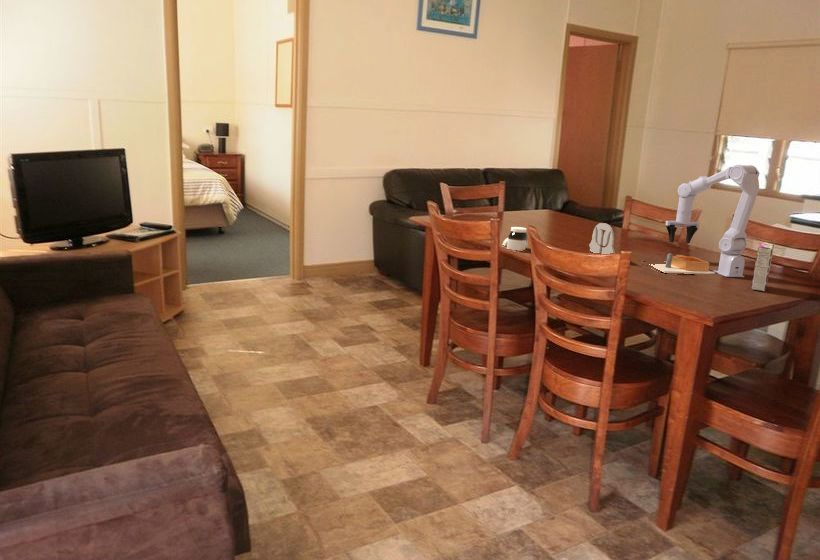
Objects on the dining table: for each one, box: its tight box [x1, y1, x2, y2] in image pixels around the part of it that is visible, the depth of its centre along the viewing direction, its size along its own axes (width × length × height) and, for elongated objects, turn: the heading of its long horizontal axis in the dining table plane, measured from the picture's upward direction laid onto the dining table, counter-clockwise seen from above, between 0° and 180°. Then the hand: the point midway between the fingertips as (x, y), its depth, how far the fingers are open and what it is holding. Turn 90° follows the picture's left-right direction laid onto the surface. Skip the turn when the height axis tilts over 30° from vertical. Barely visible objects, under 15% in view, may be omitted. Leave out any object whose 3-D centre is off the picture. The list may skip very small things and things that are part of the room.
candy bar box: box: [750, 242, 775, 292], centre depth 234 cm, size 11×5×16 cm, turn 148°
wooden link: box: [671, 254, 710, 271], centre depth 262 cm, size 15×10×4 cm, turn 5°
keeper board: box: [649, 252, 716, 275], centre depth 261 cm, size 20×22×7 cm
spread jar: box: [502, 226, 529, 250], centre depth 276 cm, size 12×11×12 cm
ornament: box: [588, 222, 616, 254], centre depth 266 cm, size 22×13×17 cm, turn 15°
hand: (679, 242), depth 273 cm, fingers open, 7 cm apart
